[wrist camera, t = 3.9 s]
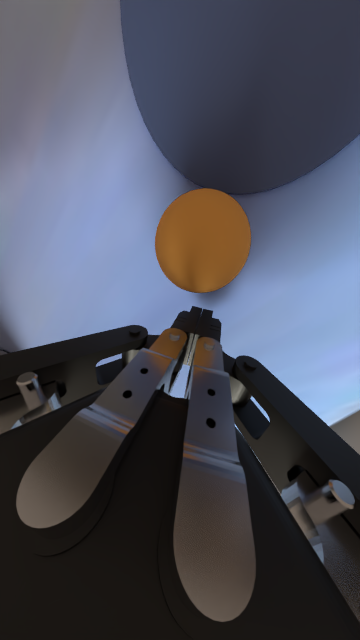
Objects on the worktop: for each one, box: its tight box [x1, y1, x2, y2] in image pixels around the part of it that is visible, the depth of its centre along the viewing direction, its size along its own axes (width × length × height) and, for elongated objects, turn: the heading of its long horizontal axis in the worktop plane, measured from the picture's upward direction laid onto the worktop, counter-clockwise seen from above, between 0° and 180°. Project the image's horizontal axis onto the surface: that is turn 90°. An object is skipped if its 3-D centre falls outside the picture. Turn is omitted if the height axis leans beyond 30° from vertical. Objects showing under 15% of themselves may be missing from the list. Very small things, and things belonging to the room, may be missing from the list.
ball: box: [155, 188, 251, 293], centre depth 9 cm, size 5×5×5 cm
